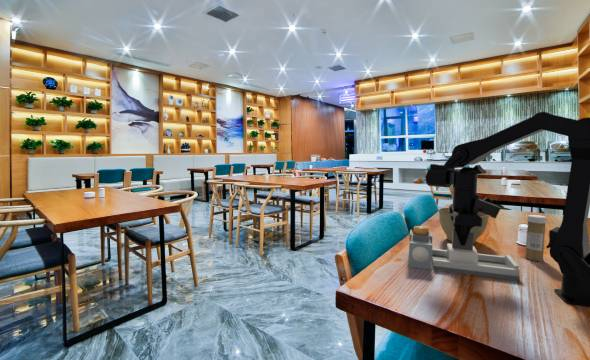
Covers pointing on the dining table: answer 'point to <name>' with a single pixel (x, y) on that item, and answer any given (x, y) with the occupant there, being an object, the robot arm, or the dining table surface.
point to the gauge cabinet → (420, 251)
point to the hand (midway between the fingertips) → (462, 243)
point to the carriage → (462, 250)
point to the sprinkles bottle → (535, 237)
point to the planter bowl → (448, 226)
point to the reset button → (421, 230)
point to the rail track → (478, 266)
